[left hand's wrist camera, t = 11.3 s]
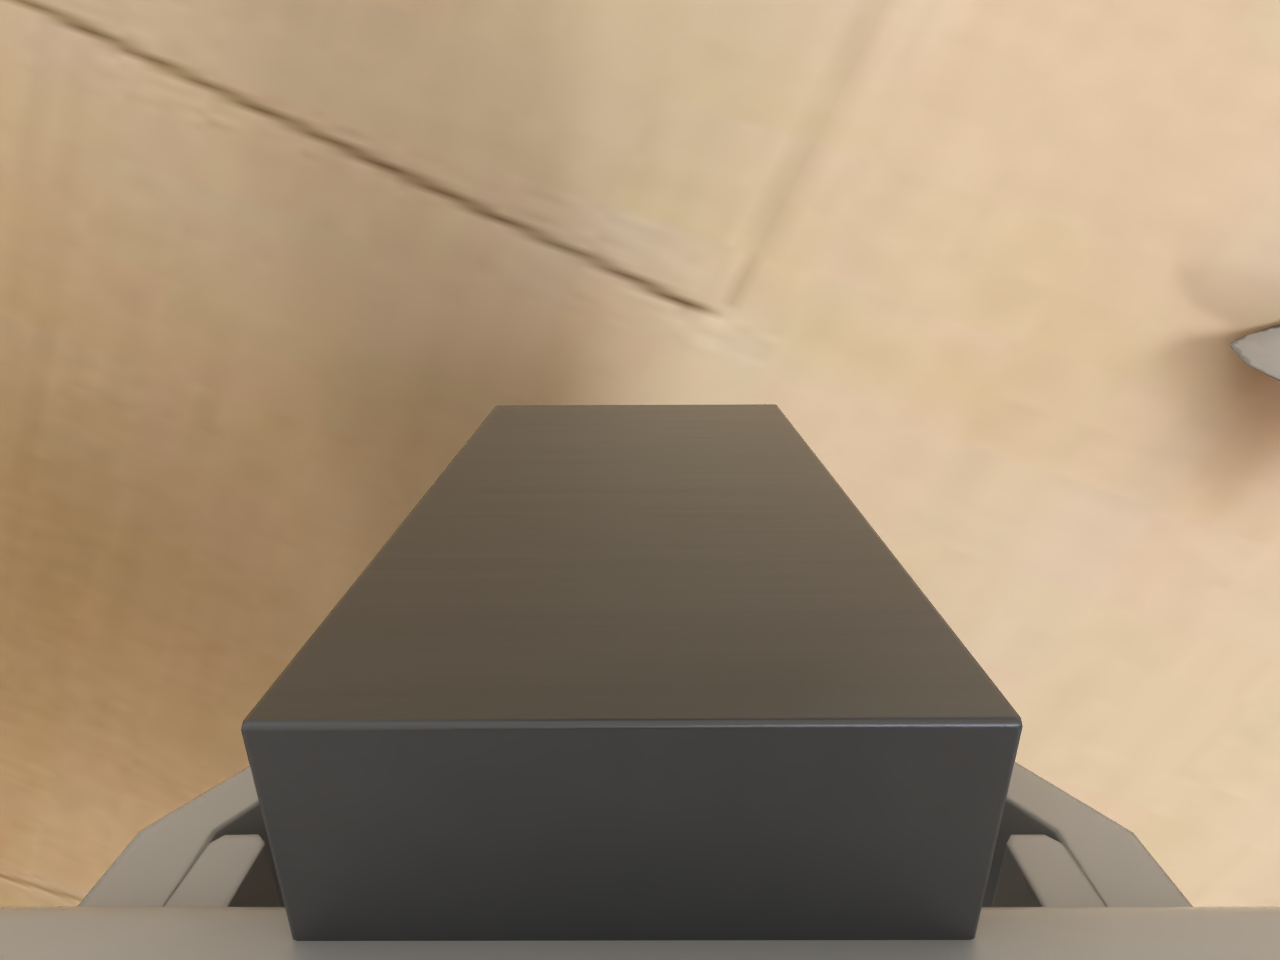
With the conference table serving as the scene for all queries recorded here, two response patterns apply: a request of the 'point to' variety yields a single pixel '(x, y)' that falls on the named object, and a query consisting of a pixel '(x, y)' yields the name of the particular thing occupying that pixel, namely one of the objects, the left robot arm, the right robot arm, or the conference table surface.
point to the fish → (1261, 350)
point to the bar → (633, 705)
